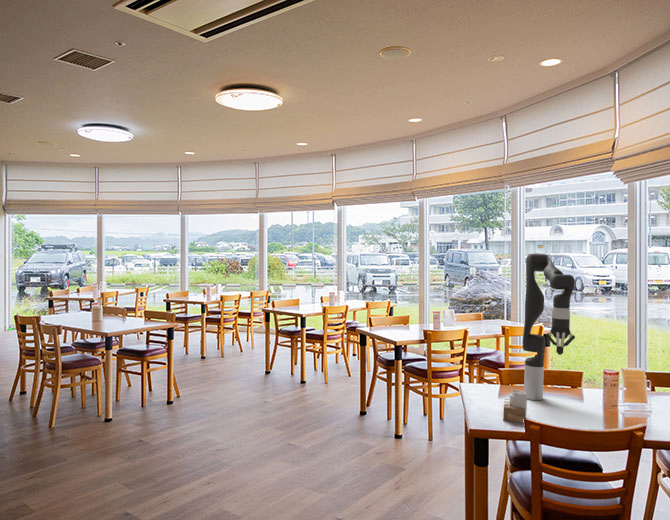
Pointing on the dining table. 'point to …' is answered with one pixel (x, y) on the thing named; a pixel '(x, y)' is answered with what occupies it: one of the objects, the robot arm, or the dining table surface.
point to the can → (518, 400)
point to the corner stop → (513, 413)
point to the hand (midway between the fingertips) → (559, 354)
